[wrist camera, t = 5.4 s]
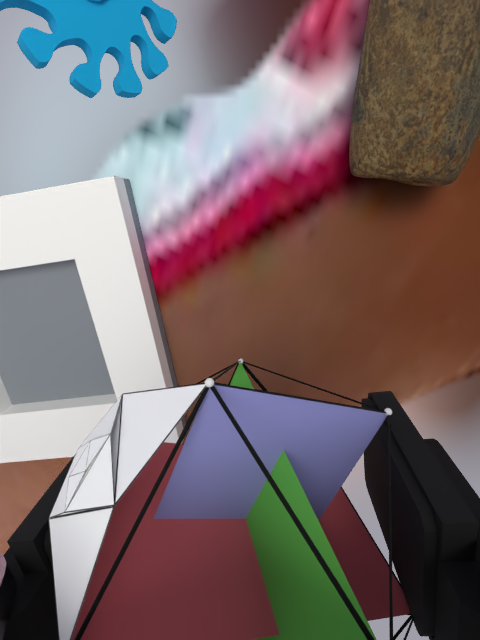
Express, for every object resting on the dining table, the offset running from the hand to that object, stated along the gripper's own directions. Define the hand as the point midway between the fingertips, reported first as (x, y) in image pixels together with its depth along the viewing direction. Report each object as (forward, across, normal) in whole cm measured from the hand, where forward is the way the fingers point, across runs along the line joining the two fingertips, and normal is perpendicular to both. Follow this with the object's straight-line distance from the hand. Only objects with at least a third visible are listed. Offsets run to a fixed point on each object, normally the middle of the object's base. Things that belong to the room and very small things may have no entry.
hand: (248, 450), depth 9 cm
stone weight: (+17, -10, -14) cm, 24 cm away
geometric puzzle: (+1, 0, 0) cm, 1 cm away
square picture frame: (+16, +17, 0) cm, 23 cm away
